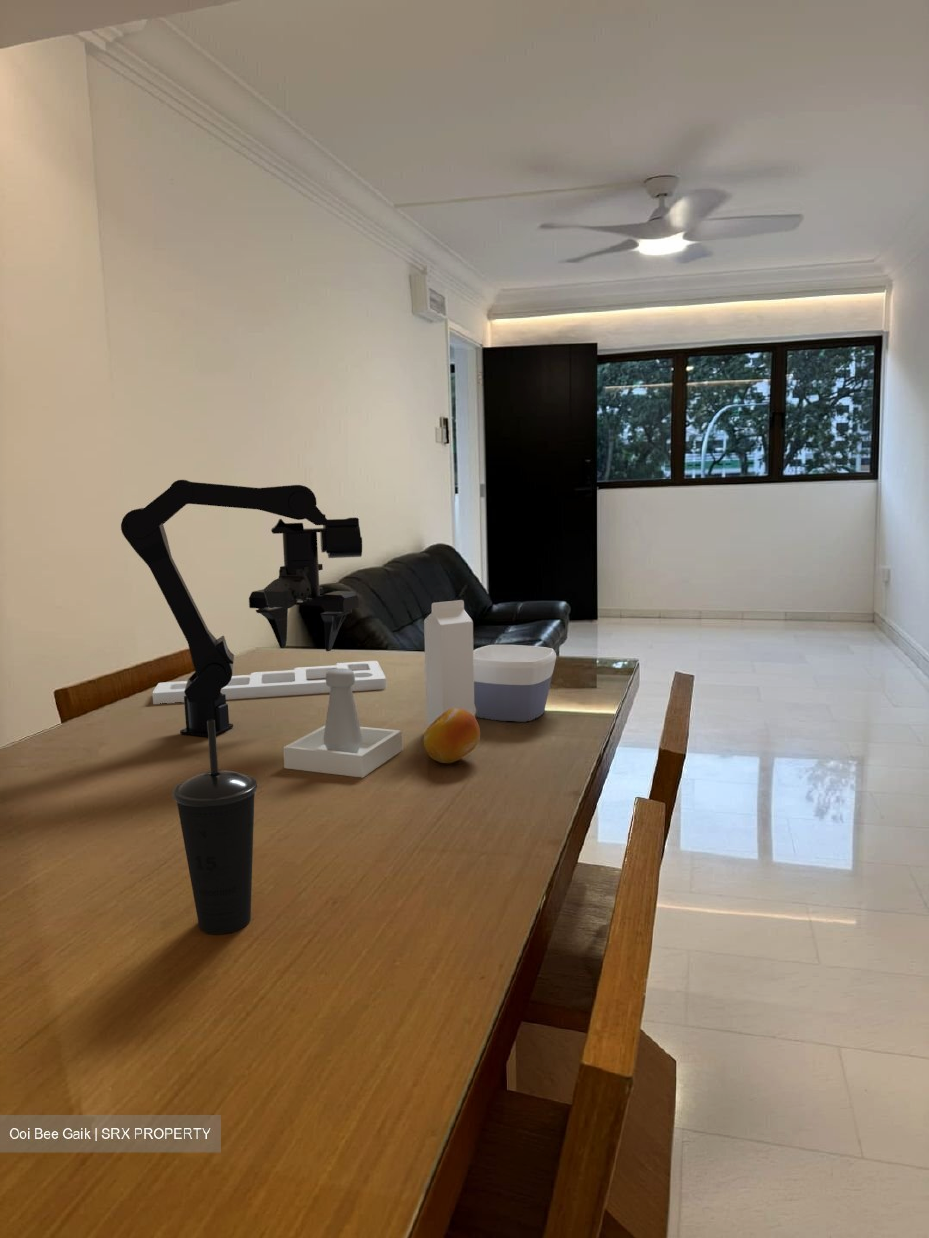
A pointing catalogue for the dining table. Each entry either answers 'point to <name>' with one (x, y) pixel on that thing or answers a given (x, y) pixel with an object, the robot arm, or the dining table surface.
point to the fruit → (452, 736)
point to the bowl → (512, 681)
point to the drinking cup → (218, 842)
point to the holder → (282, 682)
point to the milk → (448, 659)
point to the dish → (343, 753)
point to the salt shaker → (342, 713)
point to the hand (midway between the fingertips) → (305, 649)
